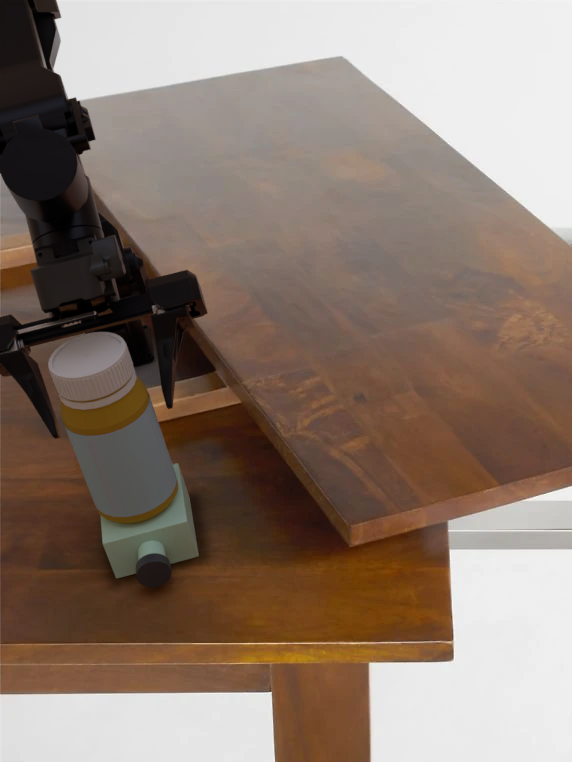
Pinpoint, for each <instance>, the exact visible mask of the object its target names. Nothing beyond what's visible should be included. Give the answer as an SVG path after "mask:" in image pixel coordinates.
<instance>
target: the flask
mask: <svg viewBox="0 0 572 762" xmlns="http://www.w3.org/2000/svg"><path fill="white" fill-rule="evenodd" d="M172 464H173V467H174V470H175V473H176V477H177V481H178V491H177V493H176V495H175V498H174V499H173V501H172V502H171V504H170V505H169V506H168V507H167V508H166V509H165V511H163V512H162V513H160V514H159V515H158V516H156V517H154V518H152V519H150V520H147V521H145V522H141V523H136V524H120V523H116V522H113V521H110V520H107V519H105V518H104V517H103V516H101V515H100V527H101V529H100V530H101V541H102V546H103V549H104V551H105V553H106V556H107V559H108V561H109V564H110V567H111V569H112V571H113V574H114V578H115V579H116V580H117V579H120V578H121V579H122V578H125V577H129V576H131V575H136V579H137V582H138V583H139V584H140V585H142V586H144V587H146V588H159V587H162V586H164V585H166V584H167V583H168V582H169V581H170V579H171V577H172V575H173V572H172V565H173V564H176V563H179V562H184V561H188V560H192V559H195V558H198V557H200V556H199V548H198V542H197V536H196V530H195V523H194V518H193V516H194V515H193V511H192V504H191V499H190V498H191V497H190V495H189V494H190V493H189V492H188V488H187V485H186V483H185V479H184V476H183V473H182V470H181V467H180V464H179V463H178V462H177V463H172Z"/></svg>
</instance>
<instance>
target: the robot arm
mask: <svg viewBox="0 0 572 762" xmlns="http://www.w3.org/2000/svg"><path fill="white" fill-rule="evenodd" d="M58 19H62V15H61V11H60V7H59V5H58V0H0V176H1V178H2V180H3V182H4V184H5V186H6V188H7V189H8V191H9V193H10V194H11V196H12V198H13V199H14V201H15V203H16V204H17V206H18V208H19V209H20V211H21V212H22V213H23V214H24V216H25V219H26V220H25V221H26V224H27V228H28V232H29V236H30V240H31V245H32V249H33V253H34V254H33V255H34V258H35V263H36V266H34V267H32V269H30V275H31V279H32V281H33V284H34V289H35V292H36V295H37V299H38V302H39V305H40V309H41V311H42V312H43V313H44V314H48V315H49V317H46V318H43V319H38V320H34V321H29V322H27V323H21V322H20V321H19V320H18V319H16V318H15V316H14V315H12V314H11V313H10V314H6V315H3V316H0V376H2V377H5V378H6V377H12V378H13V379H14V380H15V382H16V383H17V384H18V385H19V387H20V388H21V389H22V391H24V393H25V395H26V396H27V397H28V400H29V401H30V402H31V404H32V405H33V407H34V408H35V411H36V413H38V416H40V418H41V420H42V422H43V424H44V425H45V427H46V428H47V430H48V432H49V433H50V435H51V437H53V438H54V439H60V438H61V435H60V429H59V424H58V419H57V416H56V413H55V410H54V408H53V407H54V406H53V405H52V402H51V398H50V396H49V393H48V390H47V387H46V383H45V380H44V377H43V375H42V372H41V370H40V369H41V368H40V366H39V363H38V362H37V361H36V360H35V359H33V358H32V357H31V356H30V354H31V352H32V349H31V348H32V347H35V346H39V345H43V344H47V343H51V342H55V341H59V340H62V339H67V338H70V337H74V336H80V335H84V334H88V333H93V332H110V333H114V334H117V335H119V336H120V337H122V338H123V340H124V341H125V343H126V344H127V347H128V350H129V353H130V356H131V359H132V362H133V366H135V367H136V366H139V365H142V364H143V365H144V364H147V363H150V362H153V361H154V360H155V352H154V351H155V350H154V343H153V337H152V330H151V327H150V325H149V324H143V323H142V319H145V318H149V317H150V319H151V324H152V329H153V334H154V335H153V336H154V340H155V347H156V354H157V355H156V356H157V363H158V370H159V379H160V386H161V392H162V395H163V400H164V403H165V407H166V408H167V410H170V409H173V407H174V399H175V386H176V375H177V365H178V359H179V354H180V351H181V347H182V346H181V345H182V342H183V337H184V333H185V332H187V331H191V330H193V329H194V328H195V322H194V319H198V318H201V317H204V316H206V315H208V308H207V306H206V305H207V304H206V301H205V299H204V294H203V290H202V287H201V284H200V282H199V279H198V276H197V275H196V274H195V273H193V272H192V271H190V270H188V269H184V270H180V271H177V272H173V273H168V274H164V275H161V276H156V277H153V278H150V277H149V275H148V272H147V269H146V266H145V263H144V260H143V258H142V257H140V256H138V255H137V254H136V252H135V251H134V250H133V248H132V246H131V245H129V246H126V247H125V245H124V243H123V239H122V236H121V234H120V231H118V229H117V228H116V227H115V226H114V225H113V224H112V223H111V222H110V221H109V220H108V219H107V218H106V217H105V216H103V215H102V214H101V213H100V212H99V211H98V207H97V204H96V200H95V195H94V191H93V187H92V183H91V179H90V177H89V176H88V175H87V174H86V171H85V169H84V165H83V163H82V159H81V156H80V155H83V153H84V152H86V151H90V150H92V148H91V143H90V142H93V141H96V139H97V138H96V136H95V135H96V134H95V131H94V126H93V123H92V119H91V117H90V112H89V110H88V108H86V107H84V106H83V105H82V103H81V101H80V100H78V99H77V97H76V96H75V97H71V98H69V97H68V93H67V91H66V88H65V85H64V82H63V79H62V77H61V75H60V74H59V73H57V72H56V71H55V70H54V68H55V64H56V60H57V57H58V53H59V50H60V46H61V42H62V40H61V36H60V32H59V28H58V26H57V22H56V20H58ZM70 324H72V325H70ZM65 325H68V326H65Z"/></svg>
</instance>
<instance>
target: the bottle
mask: <svg viewBox="0 0 572 762" xmlns="http://www.w3.org/2000/svg"><path fill="white" fill-rule="evenodd" d="M47 364H48V371H49V375H50V376H51V377H50V378H51V379H52V382H53V384H54V387H55V389H56V391H57V393H58V398H59V400H60V417H61V420H62V423H63V426H64V428H65V431H66V434H67V436H68V439H69V441H70V444H71V447H72V450H73V452H74V454H75V457H76V460H77V462H78V464H79V468H80V471H81V472H82V475H83V477H84V480H85V483H86V485H87V488H88V491H89V493H90V494H89V495H90V496H91V499H92V501H93V504H94V506H95V508H96V510H97V512H98V515H100V517H101V516H103V517H104V518H105V519H107V520H110V521H113V522H116V523H120V524H136V523H141V522H145V521H147V520H150V519H152V518H154V517H156V516H158V515H159V514H160V513H162V512H163V511H165V509H166V508H167V507H168V506H169V505H170V504H171V502H172V501H173V499H174V498H175V495H176V493H177V491H178V481H177V477H176V473H175V470H174V467H173V464H174V463H173V461H172V458H171V456H170V453H169V449H168V447H167V444H166V440H165V438H164V435H163V434H164V433H163V431H162V429H161V426H160V423H159V419H158V417H157V414H156V411H155V407H154V405H153V402H152V398H151V396H150V393H149V391H148V388H147V386H146V384H145V383H144V381H142V380H141V378H140V377H139V376H138V375H137V372H136V369H135V367H134V366H133V362H132V359H131V356H130V353H129V350H128V347H127V344H126V343H125V341H124V340H123V338H122V337H120V336H119V335H117V334H114V333H110V332H93V333H88V334H85V333H83V334H80V335H77V336H76V337H73V338H71V339H69V340H67V341H65V342H64V343H62V344H61V345H59V346H58V347H57V348H56V349H55V350H54V351H52V353H51V354H50V356H49V358H48V363H47Z"/></svg>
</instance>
